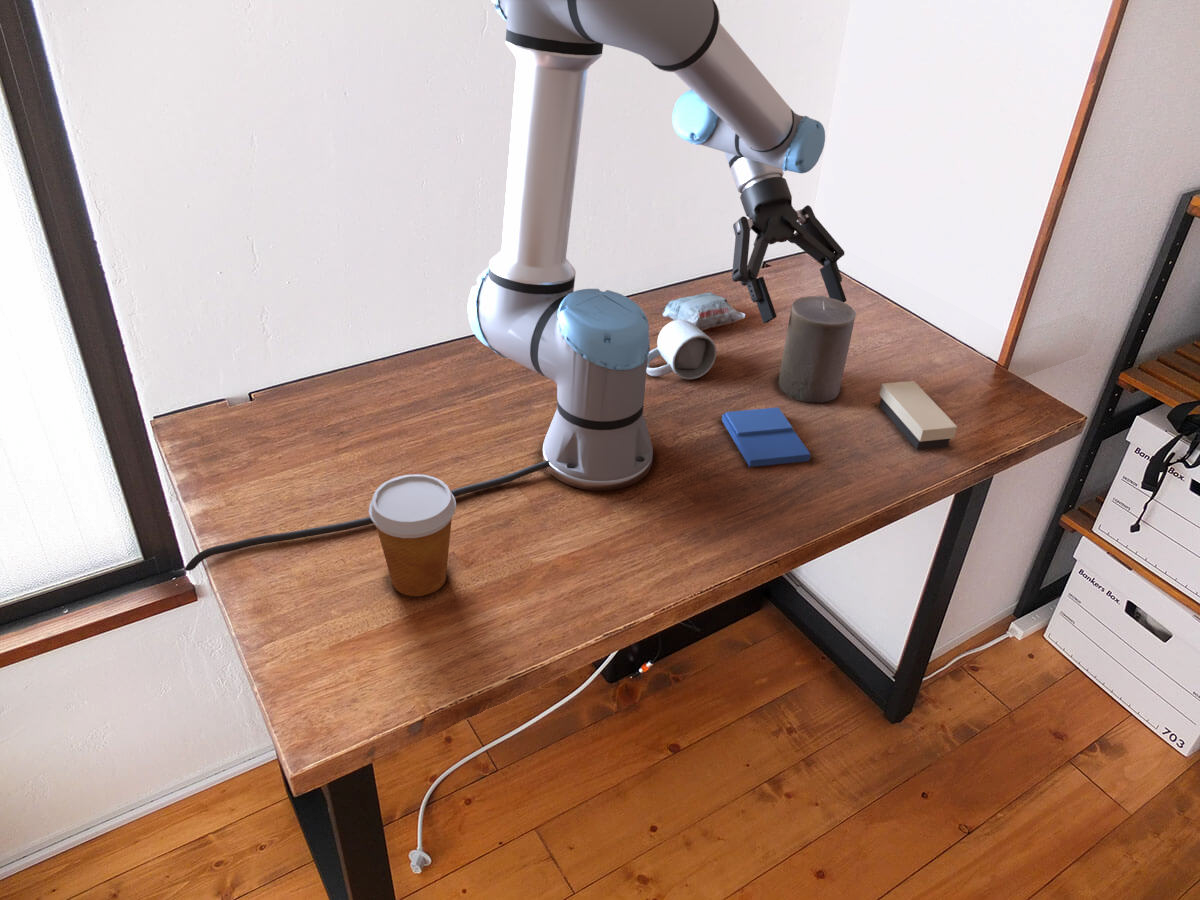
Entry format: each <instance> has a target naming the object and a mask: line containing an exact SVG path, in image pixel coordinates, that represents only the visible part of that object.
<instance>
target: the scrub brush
mask: <svg viewBox="0 0 1200 900" xmlns="http://www.w3.org/2000/svg"><path fill="white" fill-rule="evenodd" d="M878 395H879V397H880V401H879V405H878V406H879V407H880V409H881V410H882V411H883V412H884V413H885V414H886V416H887V417H888V418H889V419H890V420H891V422H892V423H893V424H894V425H895V426H896V428H898V430H899V431H900V432H901V434H903V436H904V437H905V438H906V439H907V440H908V441H909V443H910V444H911V445H912V447H914V448H915V450H917V451H918V450H929V449H939V448H947V447H949V444H950V441H951V439H955V436H956V433H957V430H958V426H957V425H956V423H954V422H953V420H952V419H951V418H950V417H949V416H948V415H947V413H945V412H944V411H943V410H942V409H941V408H940V407H939V406H938V404H937V403H935V401H934V400H933V399H932V398H931V397H930V396H929V395H928V394H927V393H926V391H925V390H923V389H922V388H921V387H920V385H918V384H917V382H915V381H914V380H910V381H907V380H906V381H896V382H884V383H881V384H880V388H879V393H878Z"/></svg>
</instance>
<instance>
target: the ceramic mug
mask: <svg viewBox="0 0 1200 900" xmlns="http://www.w3.org/2000/svg"><path fill="white" fill-rule="evenodd" d="M656 339H657V340H656V345H657V346H656V347H655V348H653V349H651V350H650V351H649V355H648V361H647V372H646V375H649V376H651V377H661V376H665V375H667V374H671V373H672V372H673V373H674V374H675V375H676V376H677V377H678V378H680V379H683V380H696V379H699V378H701V377H703V376H705V374H707V373H708V372H709V371H710V370H711V369H712V367H713V365H714V364H715V362H716V358H717V346H716V344H715V342H714V340H713V339H712V338H711V337H710V336H708V335H707V334H706V333H705V332H704V330H702V331H701V330H700V329H699V328H698V327H697V326H696V325H694V324H693V323H691V322H689V321H687V320H682V319H678V320H674V319H672V320H671V321H669V322H668V323H666V324H665V325H664V326H663V327H662V328H661V329H660V331H659V333H658V335H657V338H656ZM659 356H661V357H662V358H663V359H664V361H665V362H666V363H667V364H665V365H664V364H663V365H661V366H659V367H650V363H651V362H652V361H653V360H654V359H656V358H657V357H659Z"/></svg>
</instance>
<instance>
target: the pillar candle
mask: <svg viewBox="0 0 1200 900" xmlns="http://www.w3.org/2000/svg"><path fill="white" fill-rule="evenodd" d="M789 313H790V314H789V319H788V324H787V330H786V335H785V342H784V346H783V352H782V357H781V358H782V359H781V363H780V369H779V370H780V371H779V376H778V381H777V384H778V387H779V389H780V390H781V392H783V393H784V394H785V395H786V396H788V397H789V398H791V399H793V400H797V401H801V402H805V403H812V404H813V403H814V404H815V403H816V404H818V403H820V404H821V403H827V402H830V401H833V400H834V399H836V398H837V397H838V396H839V394H840V391H841V386H842V381H843V377H844V373H845V367H846V363H847V359H848V354H849V349H850V344H851V340H852V334H853V329H854V325H855V320H856V317H857V311H856V310H855V309H853V307H852V306H851V305H849V304H848V303H846V302H841V301H839V300H836V299H833V298H829V296H824V295H818V296H817V295H809V296H804V297H800V298H797V299H795V301H793V303H792V304H791V309H790V312H789Z"/></svg>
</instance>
